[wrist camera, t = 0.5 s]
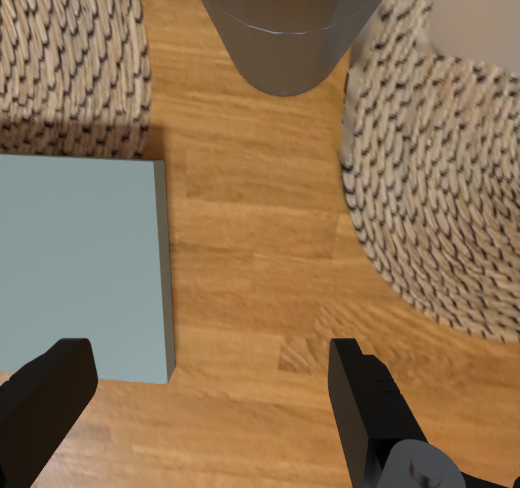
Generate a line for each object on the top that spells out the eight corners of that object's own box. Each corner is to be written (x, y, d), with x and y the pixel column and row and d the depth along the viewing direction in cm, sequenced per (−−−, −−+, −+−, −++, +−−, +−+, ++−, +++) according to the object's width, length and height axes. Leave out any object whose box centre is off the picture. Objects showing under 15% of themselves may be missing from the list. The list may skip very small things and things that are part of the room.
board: (-74, 149, 27) (-108, 149, 25) (164, 160, 27) (153, 161, 24) (-17, 352, 34) (-39, 368, 32) (175, 367, 33) (167, 384, 31)
